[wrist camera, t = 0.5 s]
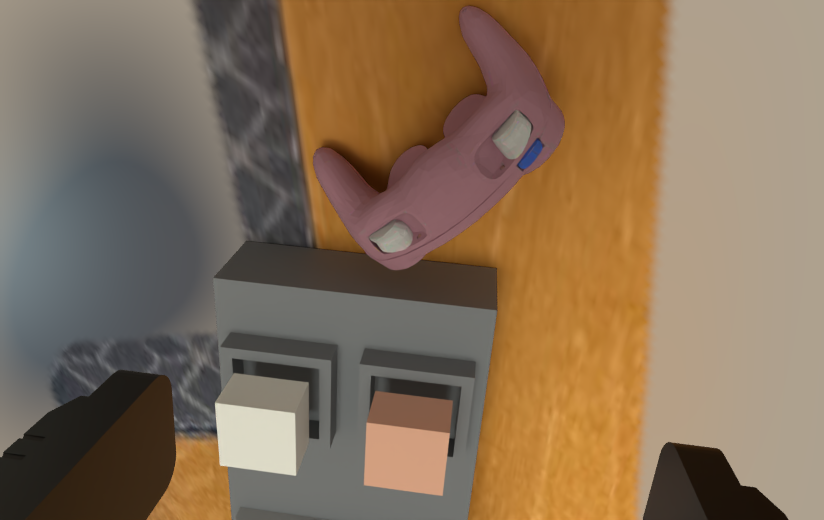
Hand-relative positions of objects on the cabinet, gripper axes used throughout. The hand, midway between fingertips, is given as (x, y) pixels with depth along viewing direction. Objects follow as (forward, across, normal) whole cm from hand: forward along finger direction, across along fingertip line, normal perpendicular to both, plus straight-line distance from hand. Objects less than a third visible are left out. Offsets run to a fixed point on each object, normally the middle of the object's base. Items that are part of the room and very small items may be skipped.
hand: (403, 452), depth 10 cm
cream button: (+14, +7, +9) cm, 18 cm away
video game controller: (+19, +1, -2) cm, 19 cm away
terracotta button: (+14, +1, +9) cm, 17 cm away
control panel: (+20, +4, +14) cm, 25 cm away
